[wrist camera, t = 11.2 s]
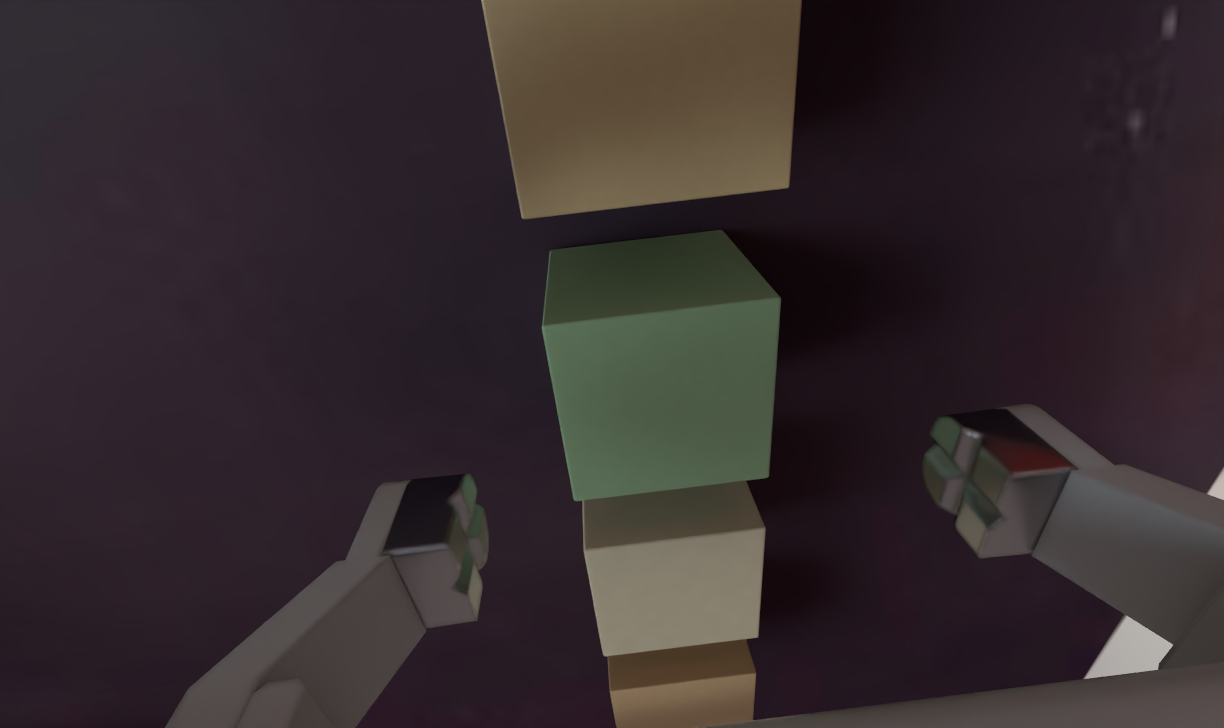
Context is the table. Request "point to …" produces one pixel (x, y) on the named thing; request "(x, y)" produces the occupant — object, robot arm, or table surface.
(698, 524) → the line block
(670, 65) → the line block
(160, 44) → the table surface
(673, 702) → the line block
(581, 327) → the green block
